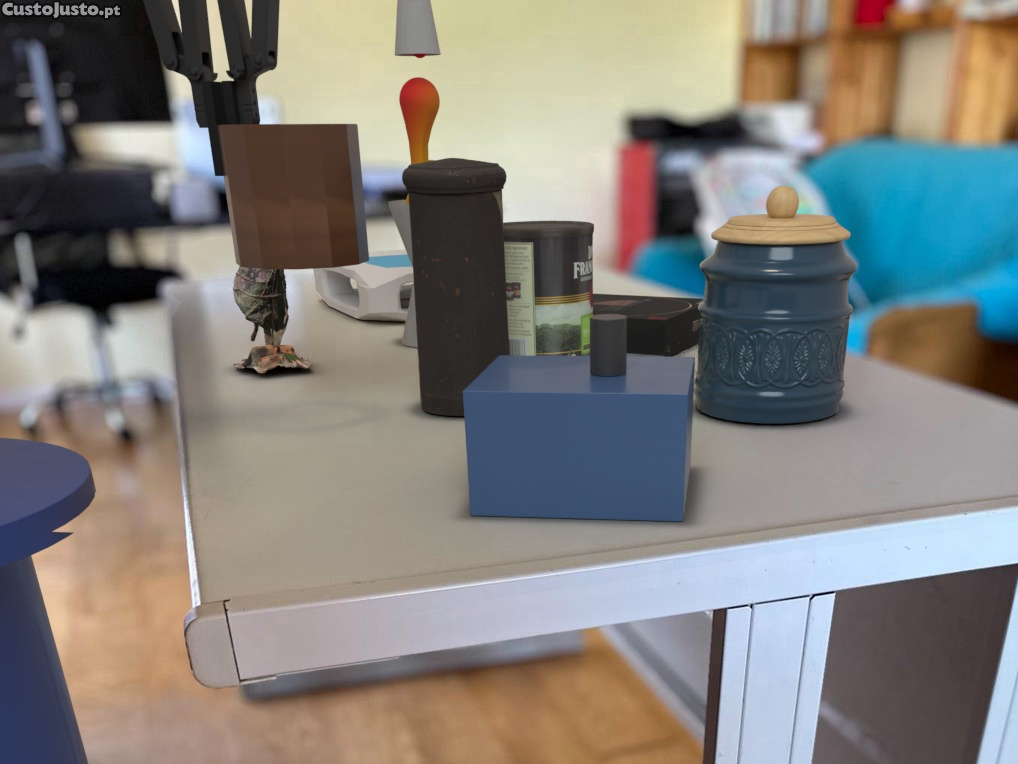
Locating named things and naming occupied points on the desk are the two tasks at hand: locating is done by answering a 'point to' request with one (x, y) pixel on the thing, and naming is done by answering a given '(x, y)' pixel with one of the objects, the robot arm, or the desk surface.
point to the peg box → (581, 433)
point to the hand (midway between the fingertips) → (236, 174)
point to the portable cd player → (654, 322)
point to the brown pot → (294, 195)
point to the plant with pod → (266, 317)
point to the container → (457, 275)
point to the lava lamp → (415, 116)
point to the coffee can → (549, 287)
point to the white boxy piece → (369, 286)
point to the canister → (774, 316)
